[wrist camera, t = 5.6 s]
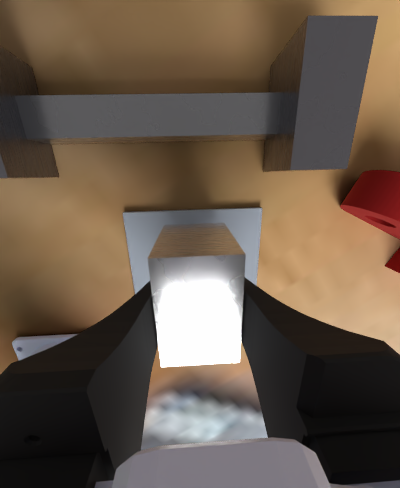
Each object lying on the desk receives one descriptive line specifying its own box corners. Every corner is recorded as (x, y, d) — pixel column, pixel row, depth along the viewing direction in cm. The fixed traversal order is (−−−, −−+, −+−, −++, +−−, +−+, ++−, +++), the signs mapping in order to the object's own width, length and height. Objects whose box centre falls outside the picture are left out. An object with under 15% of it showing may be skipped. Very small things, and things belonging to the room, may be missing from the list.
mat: (253, 298, 17) (255, 301, 17) (138, 304, 17) (137, 307, 17) (260, 207, 15) (262, 208, 14) (124, 211, 14) (122, 213, 14)
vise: (304, 170, 14) (346, 168, 10) (13, 178, 13) (-57, 179, 10) (319, 65, 12) (378, 16, 8) (-22, 67, 11) (-128, 14, 8)
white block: (222, 298, 15) (239, 362, 10) (171, 301, 15) (161, 367, 10) (224, 222, 13) (245, 254, 8) (164, 224, 13) (147, 258, 8)
